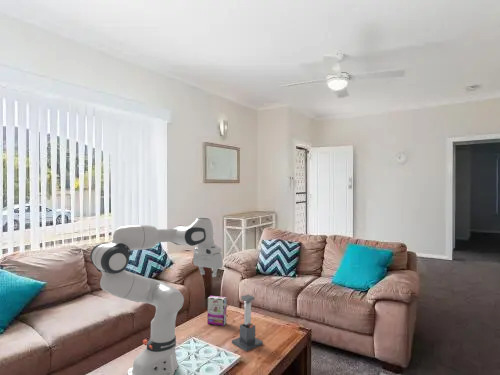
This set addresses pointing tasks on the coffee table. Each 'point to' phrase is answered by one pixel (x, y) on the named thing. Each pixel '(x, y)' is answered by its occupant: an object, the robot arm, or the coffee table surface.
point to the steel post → (247, 309)
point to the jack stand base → (247, 338)
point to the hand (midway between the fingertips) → (208, 275)
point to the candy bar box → (217, 310)
